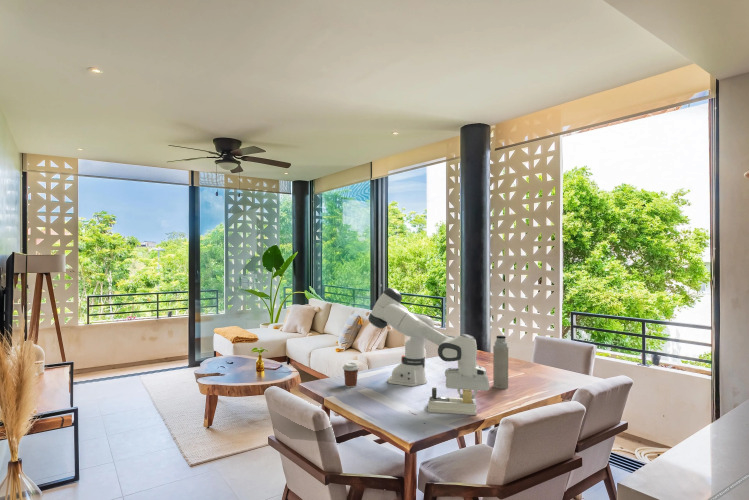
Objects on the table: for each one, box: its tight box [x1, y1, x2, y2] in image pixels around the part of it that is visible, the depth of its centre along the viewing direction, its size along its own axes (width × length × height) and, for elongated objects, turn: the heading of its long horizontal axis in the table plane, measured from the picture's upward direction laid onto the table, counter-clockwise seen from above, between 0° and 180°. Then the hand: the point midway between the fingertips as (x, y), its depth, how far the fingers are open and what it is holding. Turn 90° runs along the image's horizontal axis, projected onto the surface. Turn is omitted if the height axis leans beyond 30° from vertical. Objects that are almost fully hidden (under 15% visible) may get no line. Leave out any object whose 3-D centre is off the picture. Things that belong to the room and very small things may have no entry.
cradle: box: [427, 395, 478, 416], centre depth 209 cm, size 22×12×4 cm, turn 79°
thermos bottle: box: [492, 335, 509, 390], centre depth 245 cm, size 8×8×28 cm
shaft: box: [429, 387, 450, 402], centre depth 210 cm, size 9×3×7 cm, turn 79°
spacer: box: [462, 389, 472, 403], centre depth 208 cm, size 4×4×6 cm
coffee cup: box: [342, 362, 360, 388], centre depth 245 cm, size 9×9×12 cm
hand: (467, 398), depth 208 cm, fingers closed on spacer, 4 cm apart
